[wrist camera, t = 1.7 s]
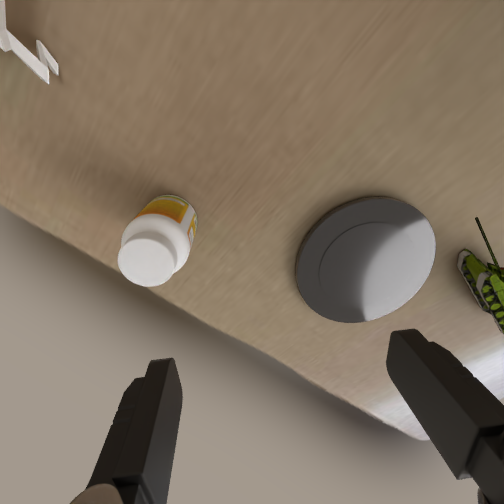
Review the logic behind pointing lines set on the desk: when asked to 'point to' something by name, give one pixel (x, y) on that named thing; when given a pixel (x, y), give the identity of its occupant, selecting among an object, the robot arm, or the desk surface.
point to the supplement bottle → (157, 241)
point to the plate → (365, 259)
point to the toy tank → (484, 282)
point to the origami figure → (39, 66)
